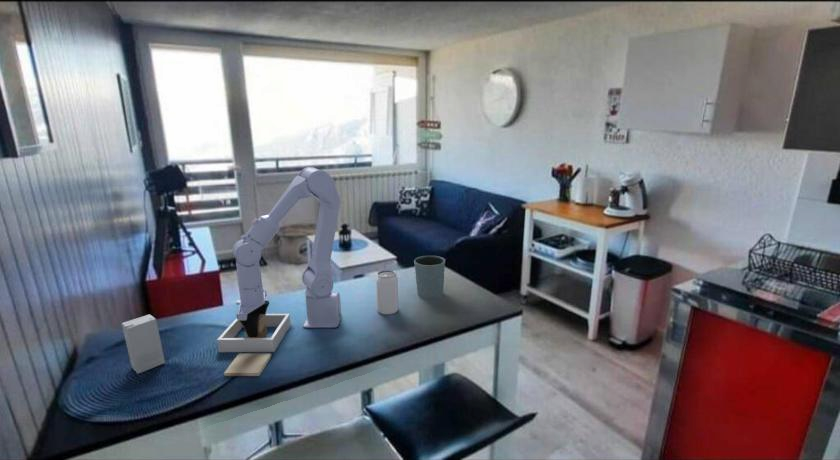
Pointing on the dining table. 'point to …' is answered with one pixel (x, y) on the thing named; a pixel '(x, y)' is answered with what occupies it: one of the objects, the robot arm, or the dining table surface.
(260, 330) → the oak block
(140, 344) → the skincare box
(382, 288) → the can
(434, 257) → the grey-green cup
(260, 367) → the birch pad
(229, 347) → the white square frame
